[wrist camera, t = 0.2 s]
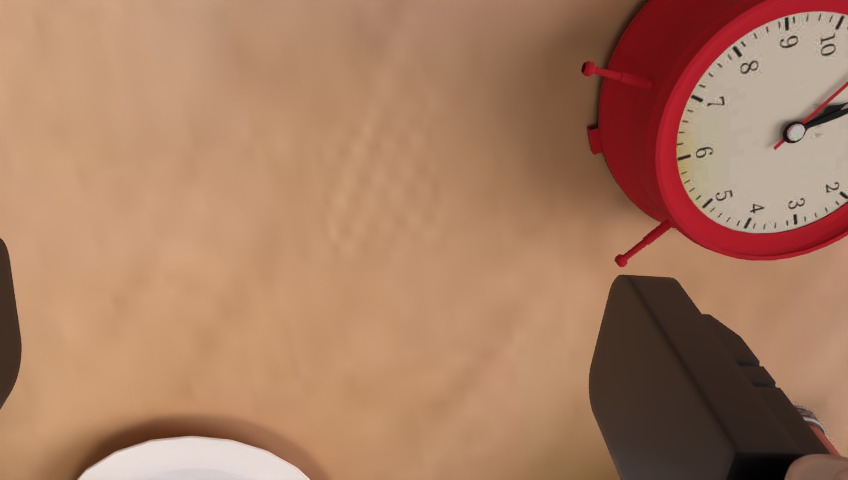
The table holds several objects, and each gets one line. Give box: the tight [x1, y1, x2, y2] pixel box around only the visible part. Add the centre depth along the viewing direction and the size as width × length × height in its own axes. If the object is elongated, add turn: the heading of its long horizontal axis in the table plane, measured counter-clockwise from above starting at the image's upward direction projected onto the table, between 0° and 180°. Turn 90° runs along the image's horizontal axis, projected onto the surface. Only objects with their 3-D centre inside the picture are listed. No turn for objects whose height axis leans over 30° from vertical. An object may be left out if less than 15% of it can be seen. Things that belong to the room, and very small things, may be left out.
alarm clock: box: [582, 0, 848, 267], centre depth 26 cm, size 10×6×15 cm
